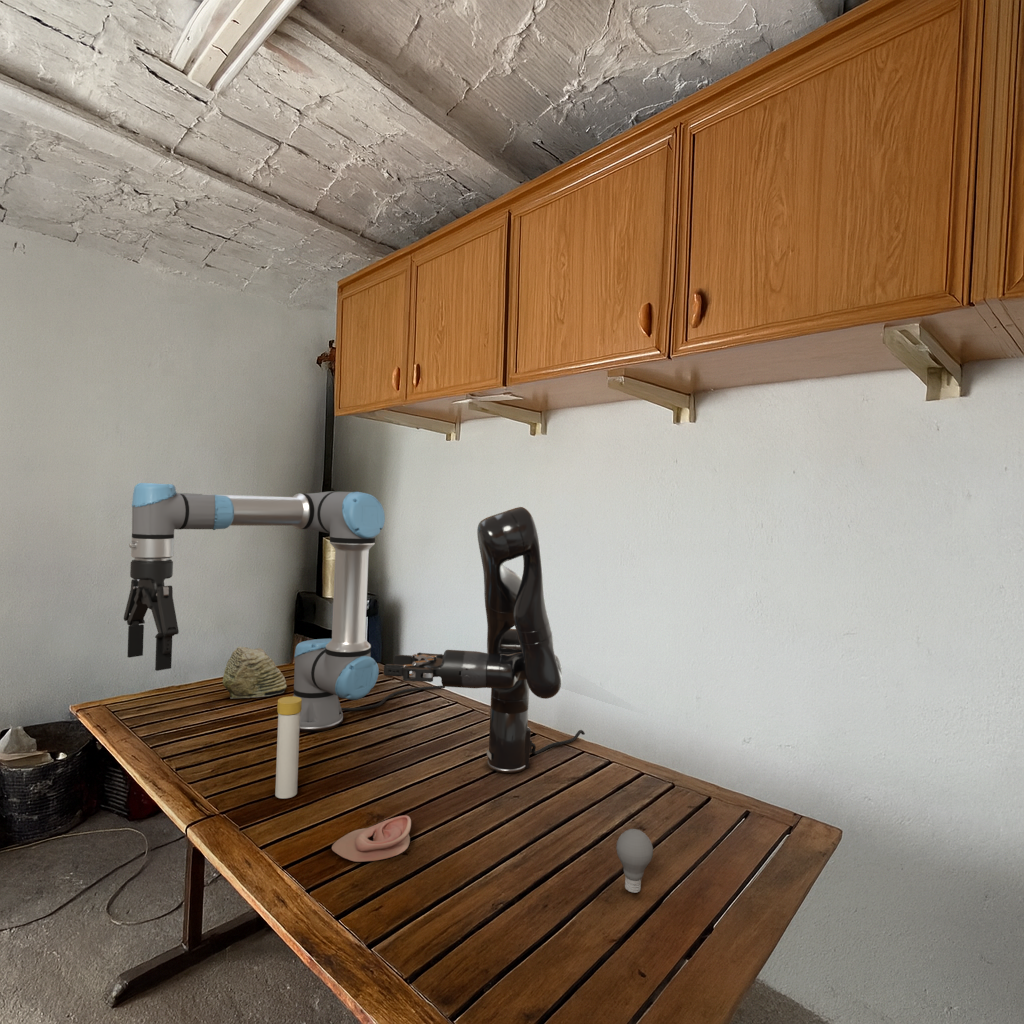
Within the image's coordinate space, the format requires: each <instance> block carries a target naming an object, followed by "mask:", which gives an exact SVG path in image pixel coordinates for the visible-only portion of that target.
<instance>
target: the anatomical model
mask: <svg viewBox="0 0 1024 1024" xmlns="http://www.w3.org/2000/svg"><path fill="white" fill-rule="evenodd" d="M411 828H412V820H411V817H410V816H409V815H406V814H405V815H399V816H395V817H392V818H389V819H386V820H383V821H380V822H378V823H377V824H374V825H372V826H369V827H365V828H364V827H363V828H359V829H355V830H352V831H351V832H348V833H346V834H345V835H343V836H342V837H340V838H338V840H336V841H335V842H334V843H333V844H332V845H331V850H332V852H334V853H335V854H337V855H338V856H340V857H341V858H343V859H345V860H348V861H351V862H354V863H356V862H357V863H361V862H364V863H365V862H374V861H380V860H381V861H382V860H385V859H386V860H387V859H389V858H393V857H395V856H398V855H400V854H403V852H405V851H406V850H407V849H408V848H409V845H410V842H411V837H410V832H411Z"/></svg>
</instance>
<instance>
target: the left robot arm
mask: <svg viewBox="0 0 1024 1024" xmlns="http://www.w3.org/2000/svg"><path fill="white" fill-rule="evenodd" d="M385 515H386V513H385V511H384V508H383V505H382V503H381V502H380V501H379V500H378V498H377V497H375V495H373V494H370V493H367V492H363V491H362V492H361V491H337V490H336V491H335V490H333V491H332V490H330V491H321V492H311V493H295V494H294V495H293V496H276V495H275V496H274V495H273V496H272V495H248V494H247V495H246V494H244V495H243V494H220V493H219V494H218V493H217V494H216V493H215V494H214V493H189V492H187V493H186V492H177V491H176V486H175V485H174V484H173V483H152V482H139V483H137V484H136V485H135V486H134V488H133V492H132V501H131V520H132V521H131V542H130V543H128V547H129V548H130V549H131V550H130V556H131V558H133V559H132V560H131V561H130V567H129V568H130V571H129V574H130V575H129V576H130V578H131V581H130V590H129V594H128V598H127V603H126V607H125V610H124V615H123V621H124V622H126V624H127V626H128V629H127V630H128V631H127V658H135V657H142V656H144V635H145V634H144V630H145V625H144V624H145V623H146V621H145V619H144V618H145V616H146V615H147V612H148V609H149V610H151V613H152V618H153V620H154V624H155V627H156V631H157V633H156V635H155V636H154V638H155V661H154V663H155V665H154V668H155V669H154V670H155V671H157V672H159V671H164V670H169V669H172V659H173V657H172V655H173V637H175V636H176V635H179V632H180V631H179V625H178V619H177V615H176V614H177V613H176V609H175V603H174V597H173V595H174V593H173V585H165V580H167V579H171V578H172V577H173V575H174V573H173V572H174V561H173V560H172V559H171V558H173V557H174V554H175V553H174V552H175V530H213V531H215V530H224V529H228V528H230V526H233V527H234V526H237V527H238V526H240V527H243V526H246V527H247V526H249V527H250V526H258V527H259V526H268V527H269V526H276V527H277V526H282V527H284V526H285V527H286V526H287V527H288V526H289V527H290V526H291V527H293V528H294V529H296V530H308V531H309V530H310V531H316V532H319V533H325V534H329V544H330V545H331V546H332V547H333V548H334V550H335V551H334V572H333V573H334V577H333V599H332V625H331V626H332V627H331V638H317V639H308V640H304V641H300V642H299V643H297V645H296V646H295V650H294V655H293V657H294V672H293V673H294V674H293V696H294V697H300V698H301V699H302V706H301V712H300V730H299V732H301V733H316V732H325V731H329V730H332V729H335V728H337V727H339V726H340V725H342V723H343V722H344V714H343V712H358V711H366V710H370V709H375V708H377V707H380V706H382V705H383V704H384V703H385V702H386V701H387V700H389V699H390V698H392V697H395V696H397V695H401V694H403V693H408V692H414V691H425V690H436V689H445V688H446V687H445V686H443V685H430V686H428V685H427V686H420V687H412V688H404V689H401V690H397V691H395V692H392V693H390V694H389V695H387V696H385V697H384V698H383V699H382V700H381V701H380V702H378V703H375V704H371V705H367V706H366V705H365V706H359V707H342V706H341V702H340V699H339V698H341V699H342V700H343V699H344V700H348V701H349V700H350V701H357V700H360V699H362V698H364V697H365V696H367V695H368V694H370V692H371V690H372V689H374V687H375V685H376V683H377V682H378V678H379V674H380V672H379V671H380V670H379V669H380V668H379V665H378V663H377V662H376V660H375V659H374V657H371V652H372V649H371V648H372V644H371V643H370V642H368V640H367V639H366V631H367V607H368V606H367V605H368V604H367V602H368V582H369V581H368V579H369V555H370V553H369V552H370V550H371V548H372V547H374V545H375V544H376V536H378V535H379V534H380V533H381V530H383V528H384V526H385V522H386V521H385V520H386V516H385ZM432 686H433V687H432Z"/></svg>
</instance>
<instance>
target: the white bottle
mask: <svg viewBox="0 0 1024 1024" xmlns="http://www.w3.org/2000/svg"><path fill="white" fill-rule="evenodd" d="M299 730H300V712H299V713H297V714H293V715H281V714H279V713H277V734H276V735H277V736H276V737H277V739H276V765H275V790H274V791H275V792H274V796H275V797H276V798H278V799H284V800H285V799H290V798H293V797H295V796H296V795H297V794H298V780H299V779H298V778H299V752H300V731H299Z"/></svg>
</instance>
